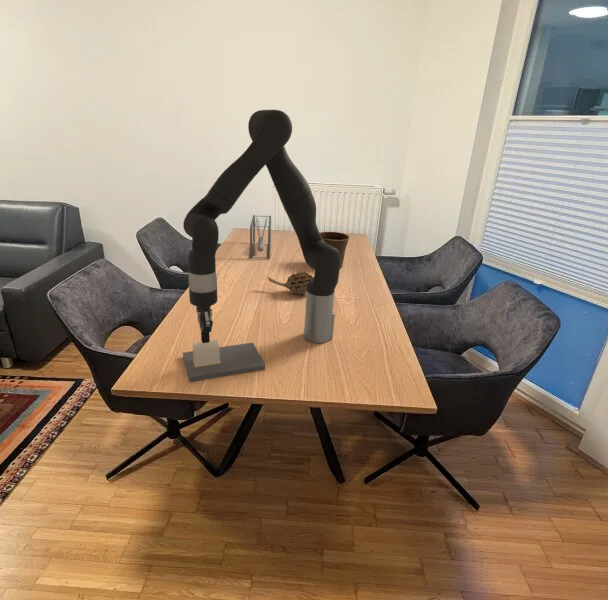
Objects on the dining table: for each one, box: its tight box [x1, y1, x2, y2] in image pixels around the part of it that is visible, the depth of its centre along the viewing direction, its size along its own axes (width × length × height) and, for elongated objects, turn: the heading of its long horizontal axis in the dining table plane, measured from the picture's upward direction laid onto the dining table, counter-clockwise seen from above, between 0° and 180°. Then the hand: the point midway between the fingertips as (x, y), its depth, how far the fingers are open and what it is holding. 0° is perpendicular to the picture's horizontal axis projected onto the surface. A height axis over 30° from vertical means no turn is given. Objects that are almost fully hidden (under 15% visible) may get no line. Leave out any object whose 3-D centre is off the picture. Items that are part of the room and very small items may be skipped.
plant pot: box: [319, 231, 350, 269], centre depth 211 cm, size 16×16×16 cm
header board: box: [182, 342, 266, 383], centre depth 123 cm, size 22×14×6 cm, turn 112°
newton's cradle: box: [249, 214, 272, 260], centre depth 228 cm, size 30×10×18 cm, turn 3°
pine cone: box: [267, 270, 314, 295], centre depth 176 cm, size 22×10×10 cm, turn 84°
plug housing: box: [192, 339, 220, 366], centre depth 121 cm, size 7×4×6 cm, turn 112°
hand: (205, 341), depth 119 cm, fingers closed
